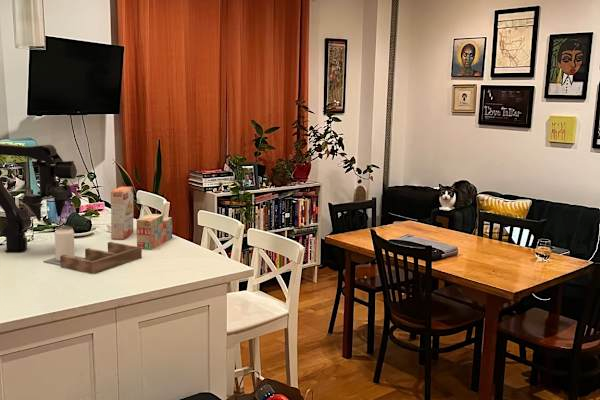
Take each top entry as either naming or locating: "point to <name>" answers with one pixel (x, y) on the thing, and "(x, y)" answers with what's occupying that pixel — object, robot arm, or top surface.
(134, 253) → the shelf lanes
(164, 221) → the stack of blocks
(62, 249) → the can
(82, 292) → the top surface
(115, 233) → the cracker box
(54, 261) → the mat
